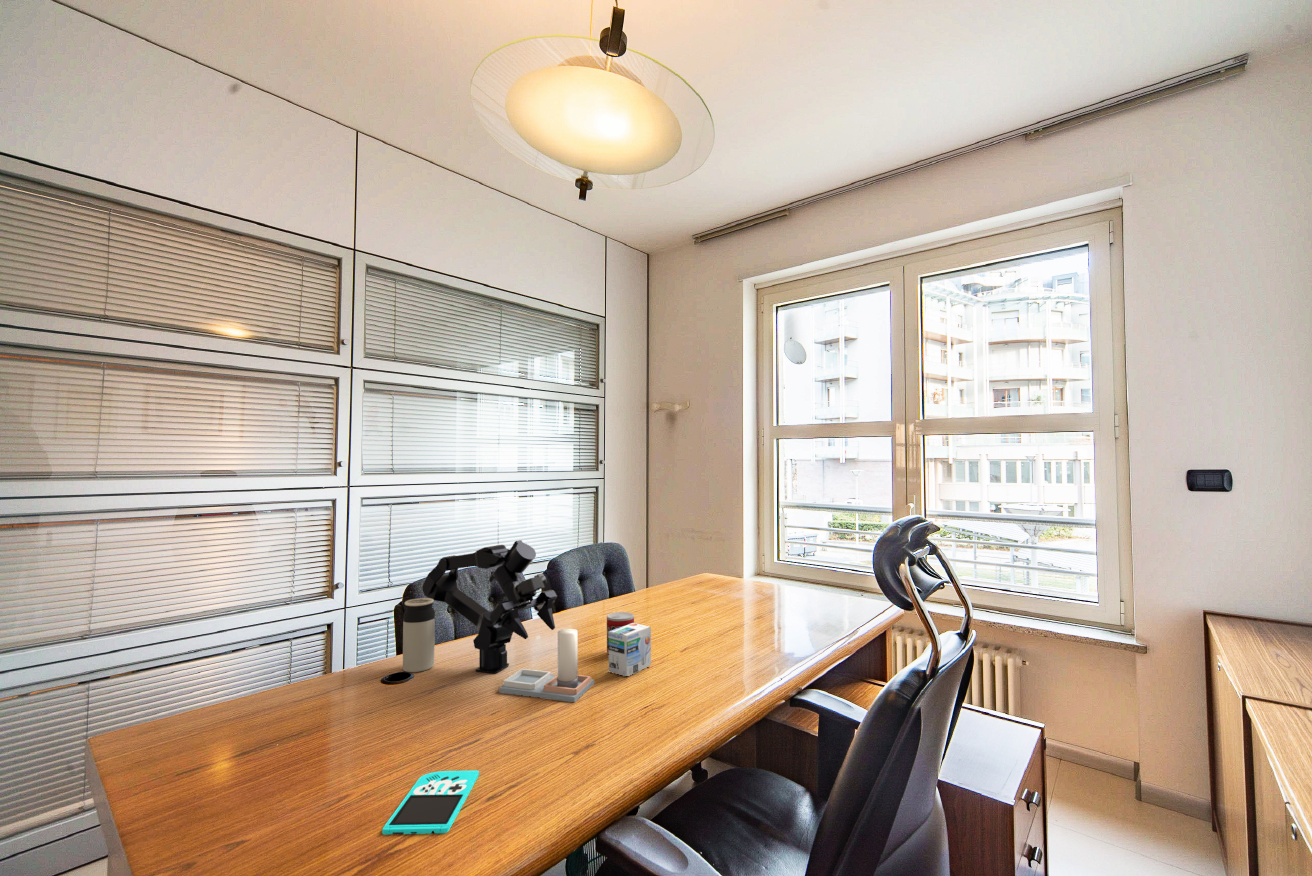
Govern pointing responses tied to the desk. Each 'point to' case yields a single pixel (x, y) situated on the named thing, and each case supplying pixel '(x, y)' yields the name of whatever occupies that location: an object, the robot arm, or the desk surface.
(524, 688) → the socket board
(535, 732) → the desk surface
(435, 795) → the handheld game console
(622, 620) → the canned food
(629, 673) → the light bulb box
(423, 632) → the travel mug
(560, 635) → the white cylinder
